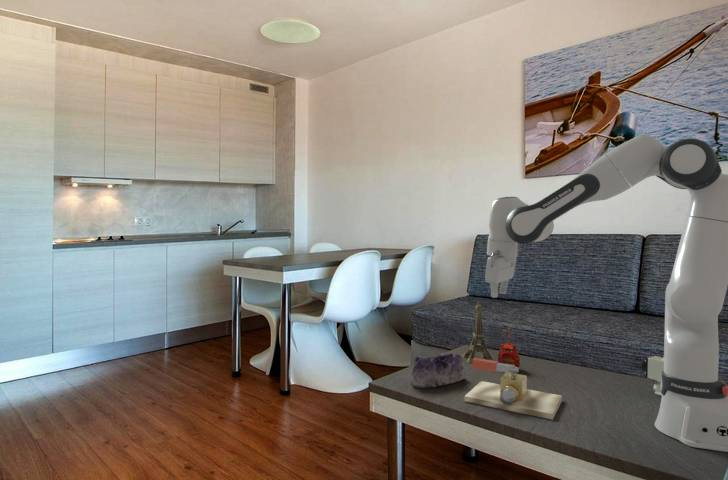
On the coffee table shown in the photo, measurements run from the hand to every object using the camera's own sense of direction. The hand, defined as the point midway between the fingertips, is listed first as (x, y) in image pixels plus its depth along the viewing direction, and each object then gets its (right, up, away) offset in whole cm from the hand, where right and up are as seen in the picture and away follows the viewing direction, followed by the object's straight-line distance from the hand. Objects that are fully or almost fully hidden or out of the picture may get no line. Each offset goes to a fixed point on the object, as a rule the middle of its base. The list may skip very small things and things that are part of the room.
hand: (498, 295), depth 142 cm
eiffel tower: (+3, -29, +37) cm, 47 cm away
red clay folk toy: (+11, -30, +25) cm, 40 cm away
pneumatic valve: (+50, -31, 0) cm, 59 cm away
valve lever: (-2, -22, -4) cm, 23 cm away
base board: (+2, -30, -6) cm, 31 cm away
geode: (-17, -30, +10) cm, 36 cm away
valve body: (+2, -30, -6) cm, 31 cm away
